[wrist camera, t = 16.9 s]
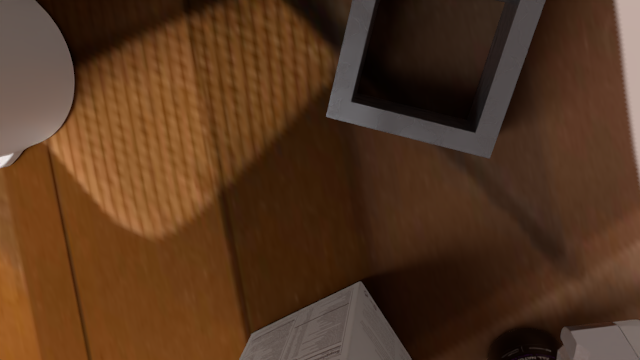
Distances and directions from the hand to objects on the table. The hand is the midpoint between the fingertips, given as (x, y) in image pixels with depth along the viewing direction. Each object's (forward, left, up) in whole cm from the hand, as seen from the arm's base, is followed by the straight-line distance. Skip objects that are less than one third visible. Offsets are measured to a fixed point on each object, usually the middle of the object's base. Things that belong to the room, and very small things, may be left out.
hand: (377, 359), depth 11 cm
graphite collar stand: (+1, +6, -30) cm, 31 cm away
